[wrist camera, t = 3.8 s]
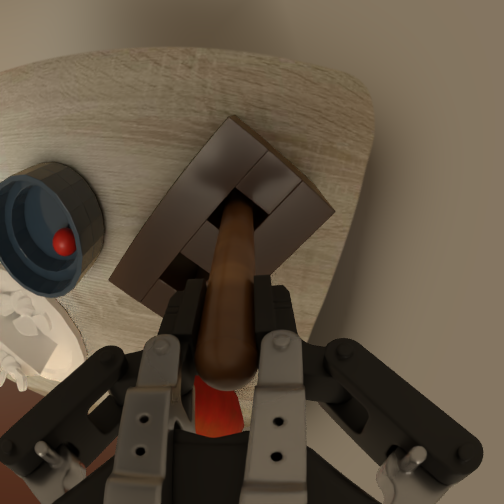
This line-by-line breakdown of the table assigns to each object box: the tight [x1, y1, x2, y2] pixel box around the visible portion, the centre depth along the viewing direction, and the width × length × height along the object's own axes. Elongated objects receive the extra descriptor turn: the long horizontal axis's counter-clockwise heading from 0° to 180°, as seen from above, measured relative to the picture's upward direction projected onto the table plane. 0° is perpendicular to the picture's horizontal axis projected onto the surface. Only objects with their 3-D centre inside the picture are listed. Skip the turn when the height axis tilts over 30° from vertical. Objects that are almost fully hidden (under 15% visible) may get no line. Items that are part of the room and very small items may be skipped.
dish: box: [0, 264, 87, 391], centre depth 33 cm, size 25×25×11 cm
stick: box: [194, 187, 259, 391], centre depth 18 cm, size 2×2×22 cm
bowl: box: [0, 162, 104, 298], centre depth 27 cm, size 14×14×6 cm
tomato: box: [53, 228, 76, 256], centre depth 28 cm, size 3×3×3 cm
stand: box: [109, 115, 335, 317], centre depth 26 cm, size 10×17×8 cm, turn 139°
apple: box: [194, 375, 244, 438], centre depth 35 cm, size 12×12×14 cm
